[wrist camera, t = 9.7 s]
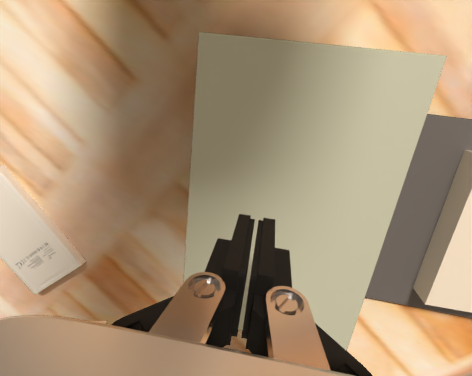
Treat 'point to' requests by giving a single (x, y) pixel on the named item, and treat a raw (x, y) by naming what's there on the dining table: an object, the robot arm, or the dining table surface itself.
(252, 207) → the sage green block
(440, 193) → the mat
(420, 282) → the cream flat block
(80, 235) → the dining table surface
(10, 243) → the external hard drive
